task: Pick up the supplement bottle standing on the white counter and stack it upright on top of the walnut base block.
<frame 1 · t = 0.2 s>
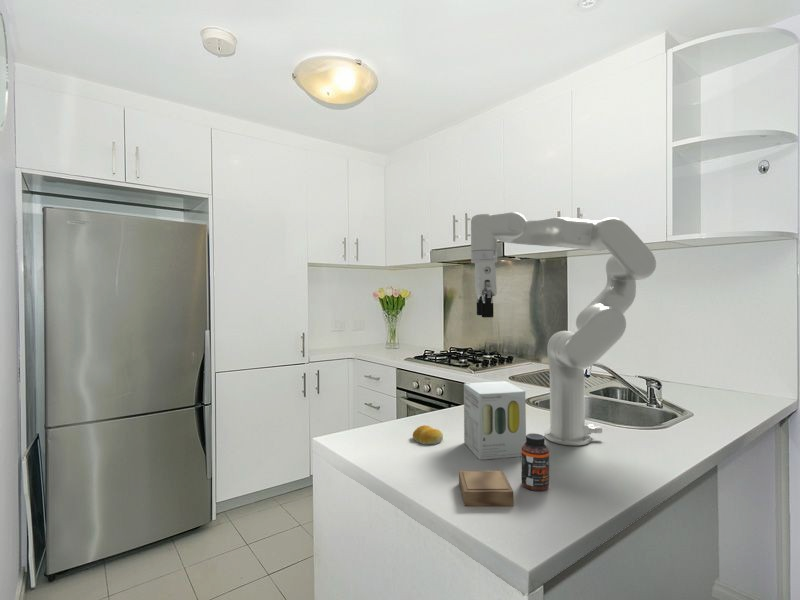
hand: (484, 316, 125), 36 cm above the counter, tool pointing down, fingers open, 9 cm apart
bread roll: (427, 441, 127), on the counter
supplement bottle: (535, 486, 96), on the counter
supplement box: (494, 450, 118), on the counter
walnut base: (484, 494, 93), on the counter
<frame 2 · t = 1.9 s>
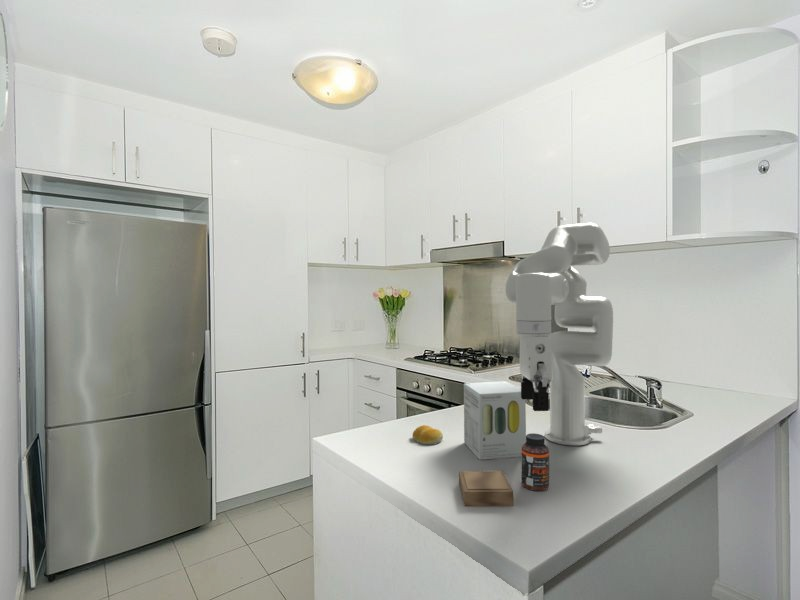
hand: (534, 404, 96), 18 cm above the counter, tool pointing down, fingers open, 9 cm apart
nothing on the counter moved.
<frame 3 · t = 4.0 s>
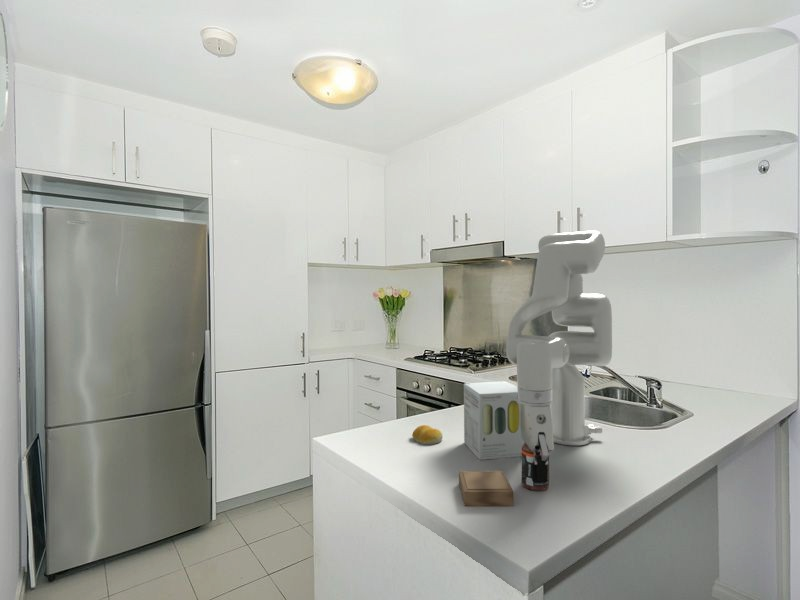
hand: (535, 474, 96), 3 cm above the counter, tool pointing down, fingers closed on supplement bottle, 6 cm apart
supplement bottle: (535, 486, 96), on the counter, touching gripper
everything else where it was.
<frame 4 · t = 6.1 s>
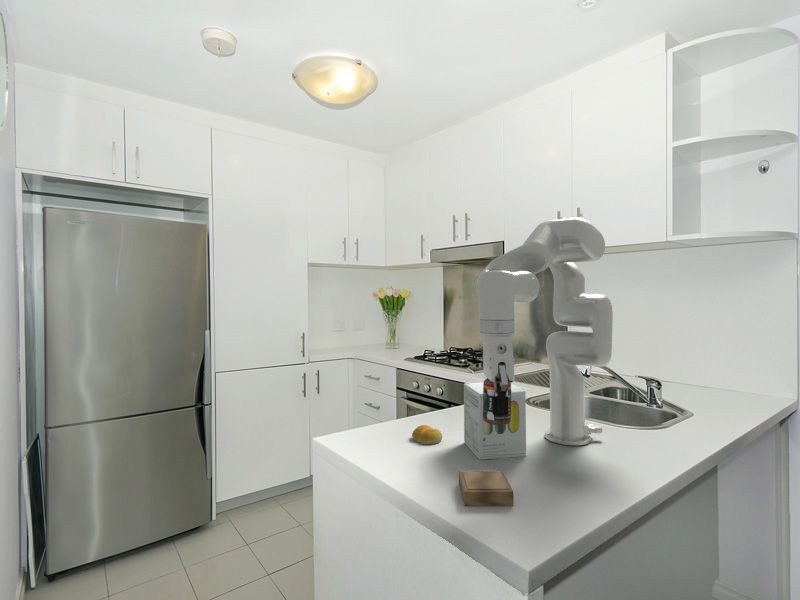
hand: (496, 409, 93), 18 cm above the counter, tool pointing down, fingers closed on supplement bottle, 6 cm apart
supplement bottle: (497, 422, 93), point 15 cm above the counter, touching gripper
everything else where it was.
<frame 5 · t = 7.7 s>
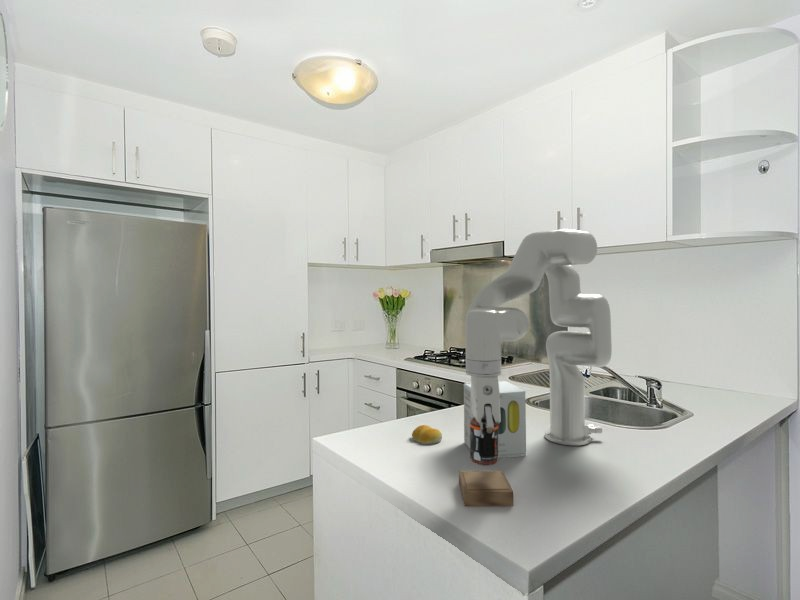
hand: (484, 449, 92), 10 cm above the counter, tool pointing down, fingers closed on supplement bottle, 6 cm apart
supplement bottle: (484, 462, 92), point 7 cm above the counter, touching gripper
everything else where it was.
when the fingers open (7 cm above the counter, at t = 8.7 s): supplement bottle drops 1 cm, resting on walnut base.
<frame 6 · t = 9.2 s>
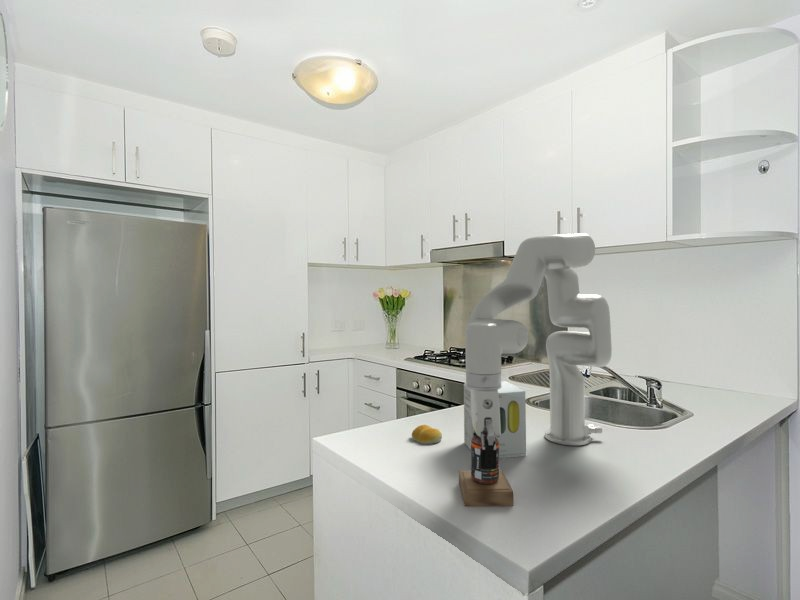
hand: (484, 458, 92), 8 cm above the counter, tool pointing down, fingers open, 9 cm apart
supplement bottle: (485, 480, 93), point 3 cm above the counter, touching walnut base
everything else where it was.
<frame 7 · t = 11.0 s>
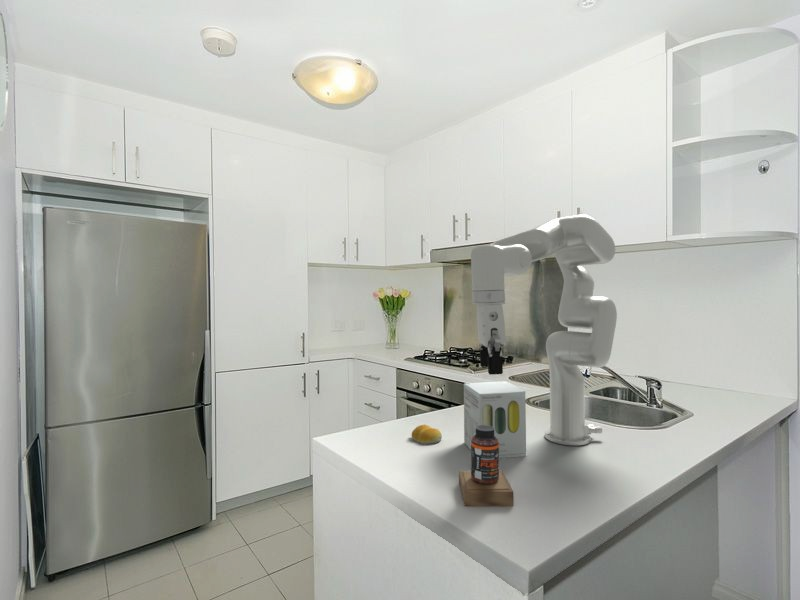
hand: (491, 369, 102), 25 cm above the counter, tool pointing down, fingers open, 9 cm apart
nothing on the counter moved.
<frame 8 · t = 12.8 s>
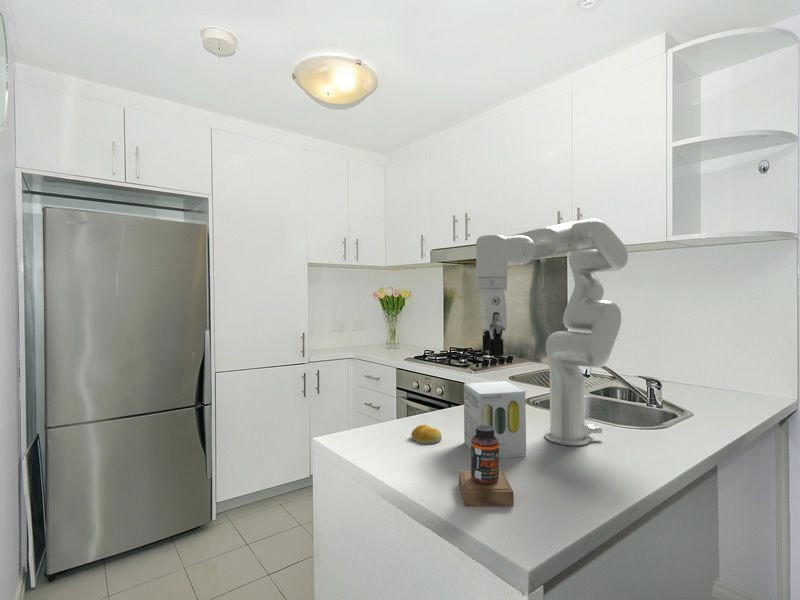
hand: (492, 352, 108), 28 cm above the counter, tool pointing down, fingers open, 9 cm apart
nothing on the counter moved.
at the end: supplement bottle inside the target area on the walnut base (0.2 cm from its centre), point 3.0 cm above the walnut base's base; supplement bottle tilted 0°; the gripper is holding nothing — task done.
